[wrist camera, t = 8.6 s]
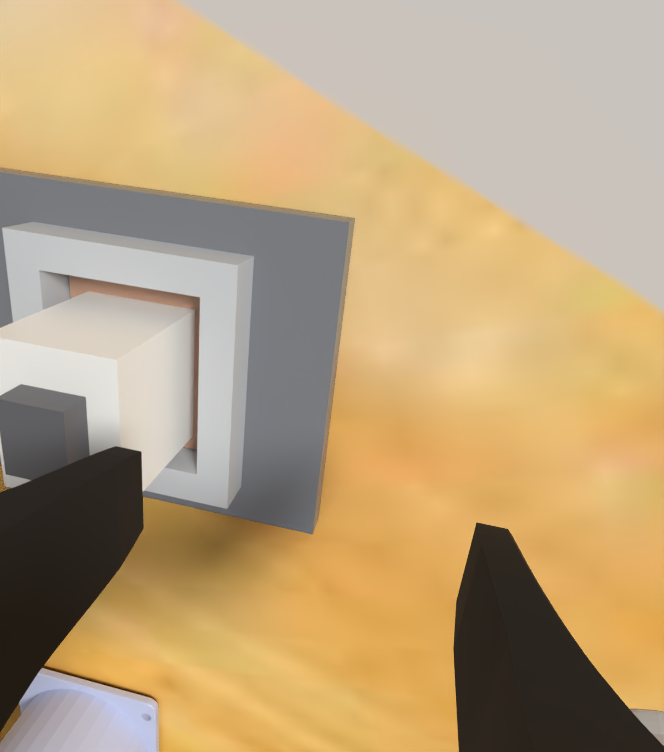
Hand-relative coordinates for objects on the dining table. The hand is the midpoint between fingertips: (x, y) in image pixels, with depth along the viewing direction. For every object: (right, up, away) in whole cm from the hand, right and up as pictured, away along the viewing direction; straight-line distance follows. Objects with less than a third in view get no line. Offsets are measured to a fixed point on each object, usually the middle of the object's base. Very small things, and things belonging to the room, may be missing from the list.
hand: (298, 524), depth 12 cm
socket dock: (-6, +4, +10) cm, 12 cm away
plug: (-6, +4, +9) cm, 12 cm away
